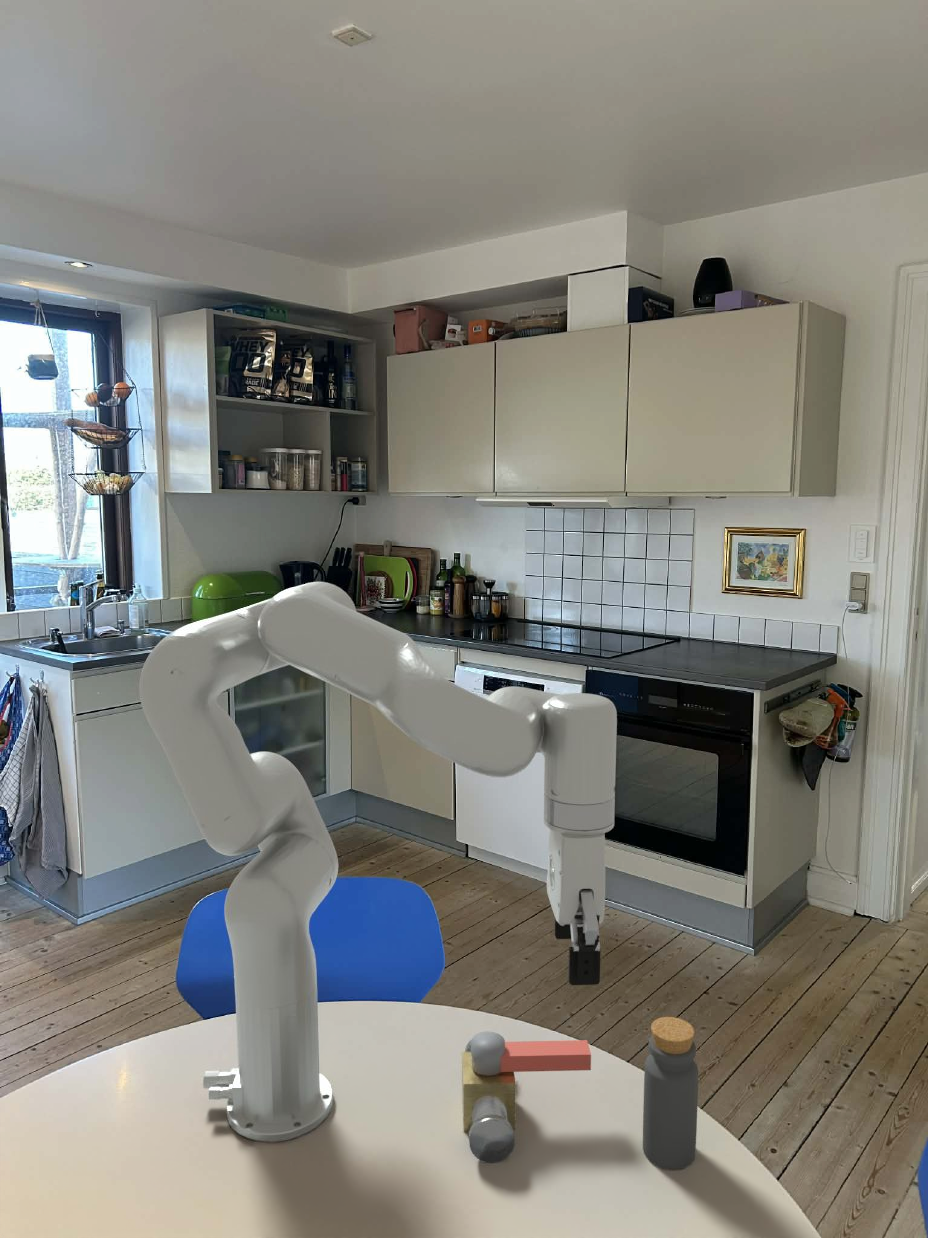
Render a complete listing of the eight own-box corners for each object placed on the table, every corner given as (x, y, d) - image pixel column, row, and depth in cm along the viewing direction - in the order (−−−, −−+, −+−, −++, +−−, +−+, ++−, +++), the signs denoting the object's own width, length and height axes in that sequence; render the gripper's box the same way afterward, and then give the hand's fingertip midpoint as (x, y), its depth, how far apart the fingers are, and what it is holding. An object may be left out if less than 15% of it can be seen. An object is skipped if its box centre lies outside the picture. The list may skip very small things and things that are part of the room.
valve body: (464, 1163, 101) (464, 1114, 100) (461, 1071, 117) (460, 1028, 116) (519, 1162, 101) (519, 1113, 100) (507, 1070, 117) (507, 1027, 116)
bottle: (682, 1179, 99) (686, 1051, 97) (633, 1155, 102) (636, 1031, 100) (703, 1148, 103) (708, 1025, 101) (656, 1126, 107) (659, 1007, 105)
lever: (471, 1076, 106) (471, 1052, 106) (470, 1055, 110) (470, 1032, 110) (591, 1073, 107) (592, 1050, 106) (586, 1052, 111) (586, 1029, 110)
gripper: (533, 784, 106) (532, 923, 109) (556, 841, 89) (553, 1005, 91) (598, 783, 106) (594, 922, 109) (632, 840, 89) (627, 1003, 92)
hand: (576, 959), depth 100 cm, fingers open, 9 cm apart
